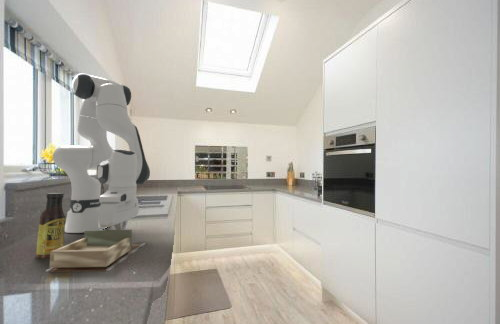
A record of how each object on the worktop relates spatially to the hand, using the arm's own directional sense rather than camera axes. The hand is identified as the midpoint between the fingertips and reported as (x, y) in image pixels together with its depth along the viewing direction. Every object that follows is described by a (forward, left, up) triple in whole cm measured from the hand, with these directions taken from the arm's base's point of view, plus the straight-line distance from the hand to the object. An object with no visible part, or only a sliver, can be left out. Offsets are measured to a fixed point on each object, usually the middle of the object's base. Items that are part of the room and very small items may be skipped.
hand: (120, 233), depth 79 cm
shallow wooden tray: (+15, 0, -4) cm, 15 cm away
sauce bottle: (+9, -17, -5) cm, 20 cm away
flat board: (+10, 0, -5) cm, 11 cm away
